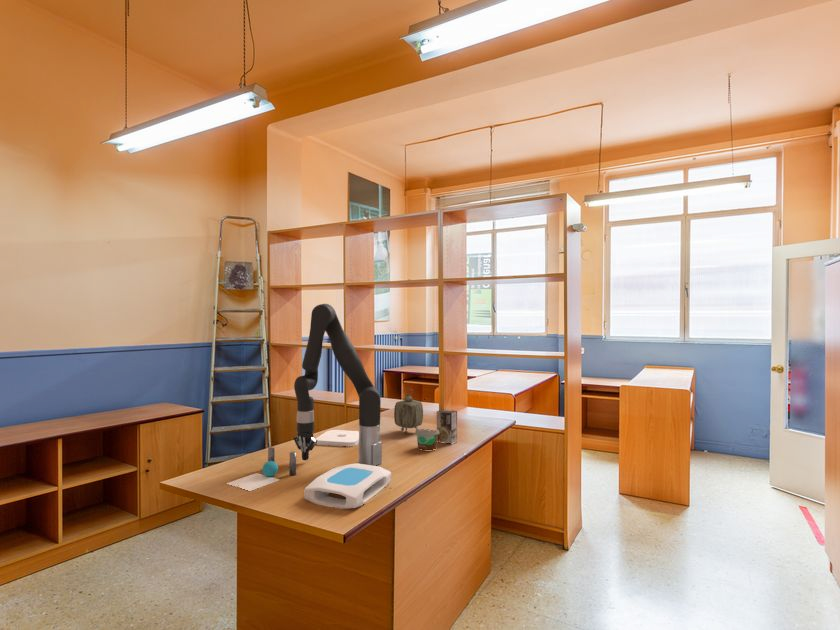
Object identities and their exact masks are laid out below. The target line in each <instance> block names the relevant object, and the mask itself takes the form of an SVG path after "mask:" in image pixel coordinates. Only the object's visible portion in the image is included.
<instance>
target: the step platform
mask: <svg viewBox="0 0 840 630" xmlns="http://www.w3.org/2000/svg"><path fill="white" fill-rule="evenodd" d="M391 480H392V472H391V470H388V469H386V468H383V467H381V466H379V465H377V466H372V465H365V464H359V462H357V463H356V462H355V463H350V464H345V465H344V464H343V465H340V466H336V467H333V468H331V469H329V470H328V471H325V472H324V473H322V474H321V475H319V476H317V477H316V478H314V480H312V481H311V482H310V483H309V484H308V485H307V486H306V487H305V488H304V491H303V492H304V493H303V494H304V496H303V497H304V499H305V500H307V501H308V502H311V503H312V504H314V505H317V506H322V505H323V507H329V508H333V507H335V508H334V509H338V508H341V509H340V510H348V509H356V508H359V507H361V506H364V505H363V504H364V503H365V502H366V501H368V500H369V499H370V498H372V497H373V496H374V495H376V494H377V493H378V492H379V491H381V490H382V489H383V488H384V487H388V485H389V484H390V483H391V482H392V481H391ZM372 486H373V487H372ZM381 492H382V491H381ZM330 493H331V494H334V495H335V494H337V495H340V496H343V497H345V498H337V497H333V496H329V494H330ZM376 496H377V495H376Z"/></svg>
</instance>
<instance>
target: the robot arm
mask: <svg viewBox="0 0 840 630" xmlns="http://www.w3.org/2000/svg"><path fill="white" fill-rule="evenodd" d="M325 333H326V335H327V336H328V339H329V342H330V347H331V350H332V353H333V356H334V357H335V359H336V362H337V363H338V365H339V367H340V368H341V369H342V371H343V373H344V374H345V375H346V376H347V377H348V379H349V380H350V381H351V383H352V384H353V386H354V388H355V391H356V392H357V393H356V394H357V395H358V396H357V397H358V431H359V444H358V464H365V465H372V466H376V465H377V466H379V465H381V464H382V462H383V459H382V457H383V454H382V452H383V451H382V449H383V446H382V445H383V442H382V441H381V408H382V407H381V403H382V401H381V395H380V392H379V391H378V389H377V388H376V386H375V385H374V384H373V382H372V380H371V379H370V377H369V375H367V372H366V370H365V367H364V365H363V362H362V360H361V358H360V356H359V354H358V351H357V350H356V348H355V346H354V344H353V343H352V341H351V340H350V338H349V336H348V335H347V334H346V333H347V332H345V330H344V329H343V327H342V324H341V322H340V320H339V317H338V315H337V313H336V310H335V308H334V307H333V305H331V304H329V303H322V304H317V305H315V306H314V307H313V309H312V310H311V317H310V329H309V336H308V339H307V344H306V349H305V352H304V357H303V358H302V359H303V360H302V364H301V367H302V369H303V371H304V375H300V376H298V377H296V379H295V380H294V385H293V388H294V392H295V398H296V401H297V403H296V405H297V409H296V412H297V413H296V432H297V435H296V436H295V437H293V441H294V442H295V445H296V447H297V449H298V450H300V452H301V460H302V461H308V460H309V457H310V456H309V455H310V451H313V449H314V448H315V446H316V443H317V440H315V438H314V431H315V412H314V411H315V409H314V407H315V406H314V405H315V402H314V401H315V400H314V397H313V396H310V391H312V390H313V389H315V388H316V386H317V385H318V382H319V381H318V380H319V366H320V362H321V357H322V353H323V343H324V342H323V341H324V336H325ZM380 463H381V464H380ZM378 464H379V465H378Z"/></svg>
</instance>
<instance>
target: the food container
mask: <svg viewBox="0 0 840 630" xmlns="http://www.w3.org/2000/svg"><path fill="white" fill-rule="evenodd" d="M415 434H416V438H417V448H419V449H422V450H433V449H436V448H437V447H438V442H437V441H438V434H440V433H439V429H438V430H437V429H436V430H433V429H428V428H426V429H425V428H422V429H421V428H418V427H417V428H415ZM419 449H418V450H419ZM437 449H438V448H437Z"/></svg>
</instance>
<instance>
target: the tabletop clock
mask: <svg viewBox="0 0 840 630" xmlns="http://www.w3.org/2000/svg"><path fill="white" fill-rule="evenodd" d="M405 390H410V391H412V393H411V394H410V393H409V392H408V393H405ZM402 393H403V394H404V398H403V400H400V401H397V402H395V405H394V408H393V410H394V411H393V412H394V413H393V414H394V415H393V419H394V424H395V425H396V426H397V427H400V429H401V431H404V430H405V431H404V434H405V435H407V434H408V429H416V428H418V427H419V426H422V425H423V421H424V405H423V403H422V402H421V401H419V400H416V399H413V397H412V396H413V395H414V394H415V393H414V390H413V388H410V387H405V388H404V389H403V390H402Z"/></svg>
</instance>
